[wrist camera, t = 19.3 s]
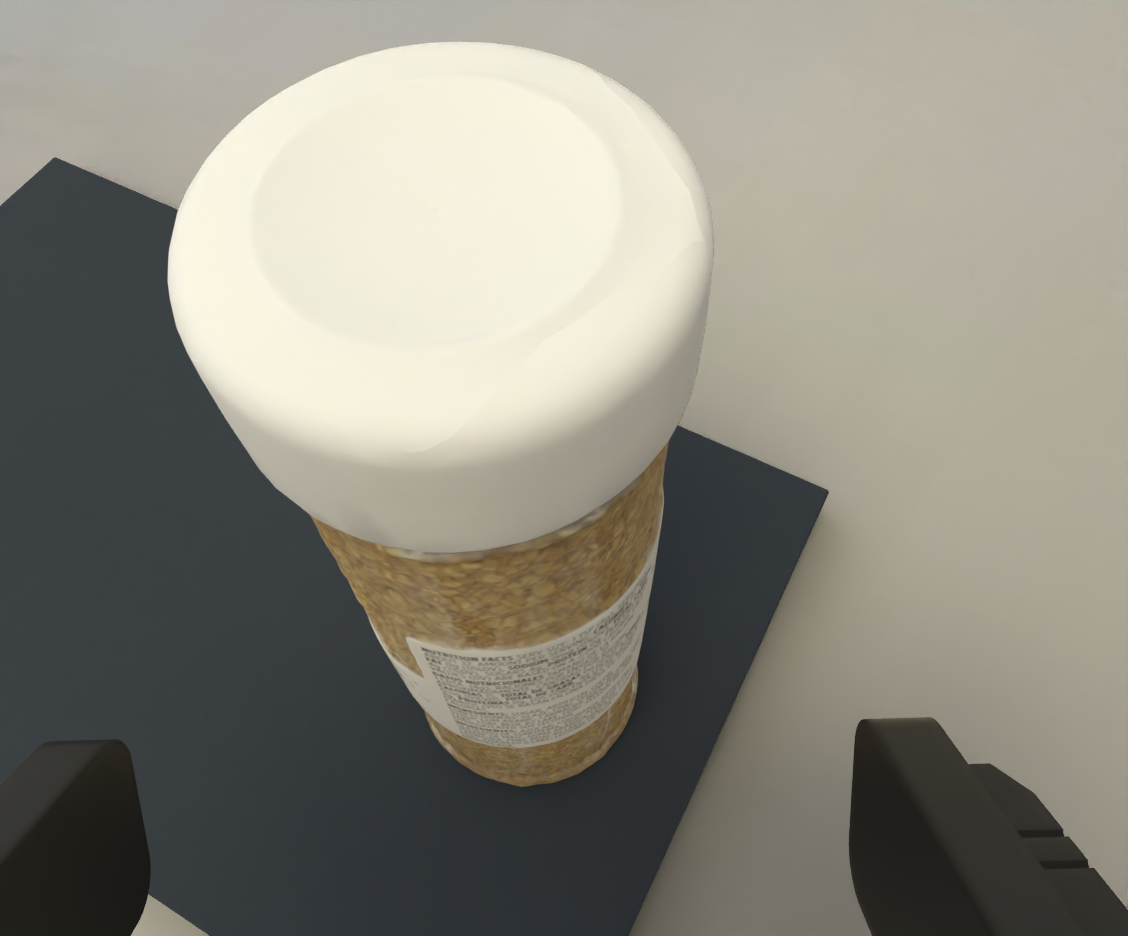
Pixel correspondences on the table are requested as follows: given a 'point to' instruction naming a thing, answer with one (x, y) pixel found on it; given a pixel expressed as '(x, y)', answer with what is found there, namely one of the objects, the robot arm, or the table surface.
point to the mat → (309, 632)
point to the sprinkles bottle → (463, 367)
